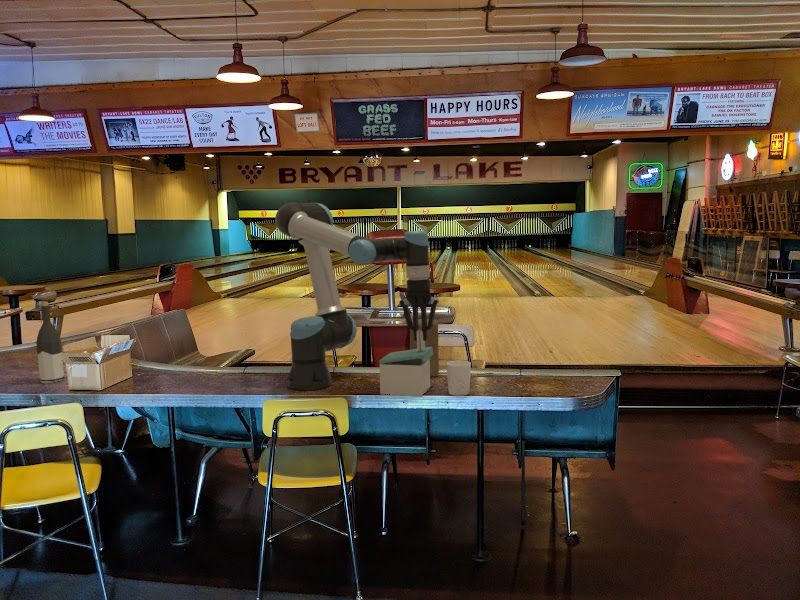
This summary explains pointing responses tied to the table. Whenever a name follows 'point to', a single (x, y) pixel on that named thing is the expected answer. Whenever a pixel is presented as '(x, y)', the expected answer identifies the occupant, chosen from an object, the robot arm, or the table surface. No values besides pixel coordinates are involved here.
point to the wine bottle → (49, 349)
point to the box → (405, 377)
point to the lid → (408, 355)
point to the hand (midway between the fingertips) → (421, 350)
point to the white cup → (458, 377)
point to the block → (429, 345)
